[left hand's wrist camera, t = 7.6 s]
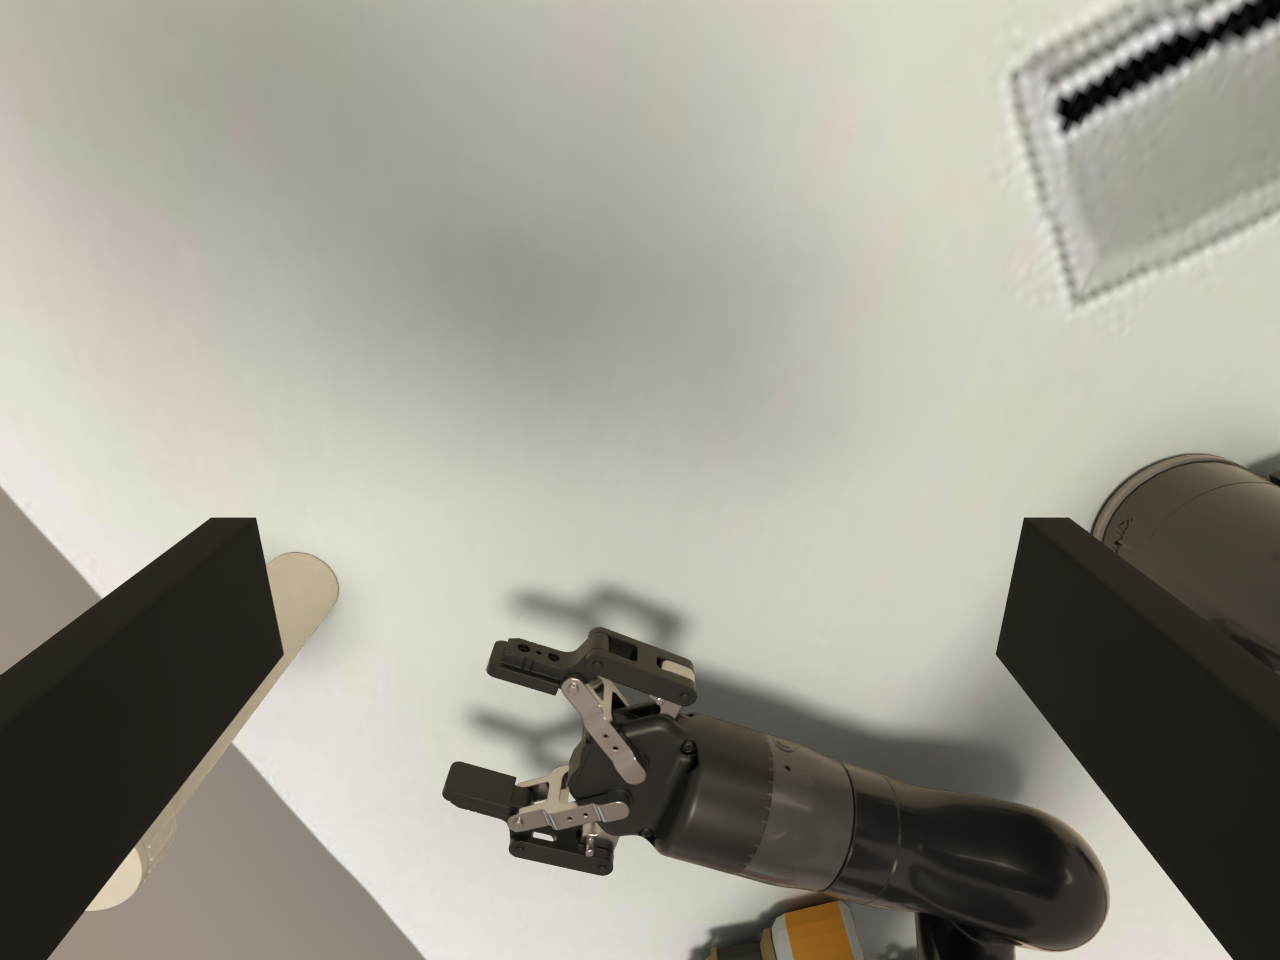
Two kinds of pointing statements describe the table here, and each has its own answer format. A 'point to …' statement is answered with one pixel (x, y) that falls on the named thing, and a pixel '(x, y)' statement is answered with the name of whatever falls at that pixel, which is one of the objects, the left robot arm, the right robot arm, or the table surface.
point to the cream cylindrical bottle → (299, 607)
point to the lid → (138, 862)
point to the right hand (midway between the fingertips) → (467, 719)
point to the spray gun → (802, 937)
